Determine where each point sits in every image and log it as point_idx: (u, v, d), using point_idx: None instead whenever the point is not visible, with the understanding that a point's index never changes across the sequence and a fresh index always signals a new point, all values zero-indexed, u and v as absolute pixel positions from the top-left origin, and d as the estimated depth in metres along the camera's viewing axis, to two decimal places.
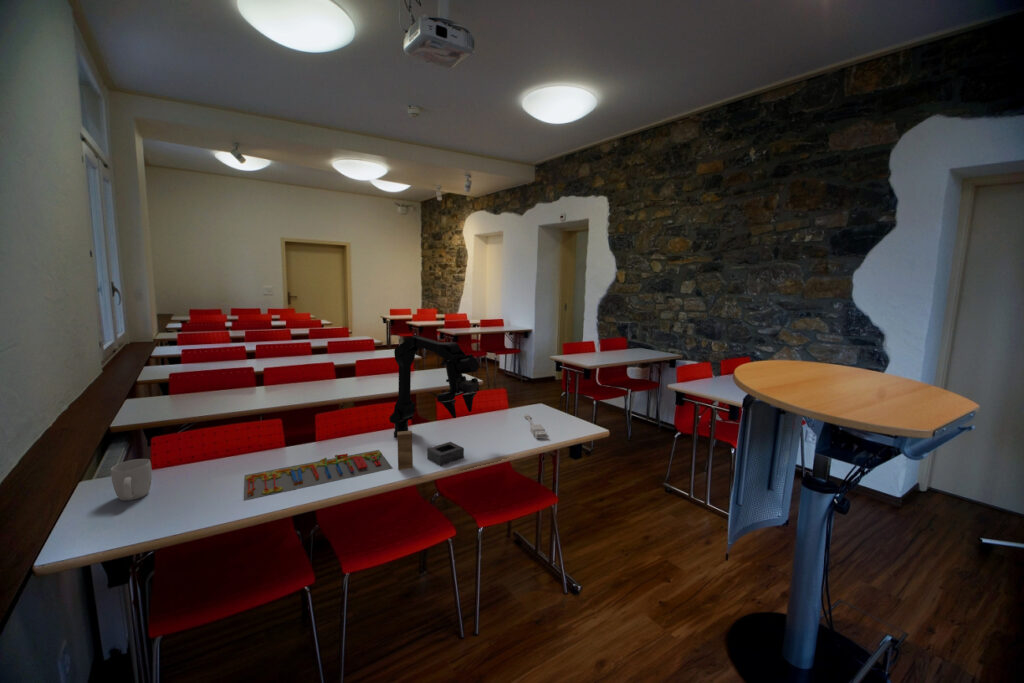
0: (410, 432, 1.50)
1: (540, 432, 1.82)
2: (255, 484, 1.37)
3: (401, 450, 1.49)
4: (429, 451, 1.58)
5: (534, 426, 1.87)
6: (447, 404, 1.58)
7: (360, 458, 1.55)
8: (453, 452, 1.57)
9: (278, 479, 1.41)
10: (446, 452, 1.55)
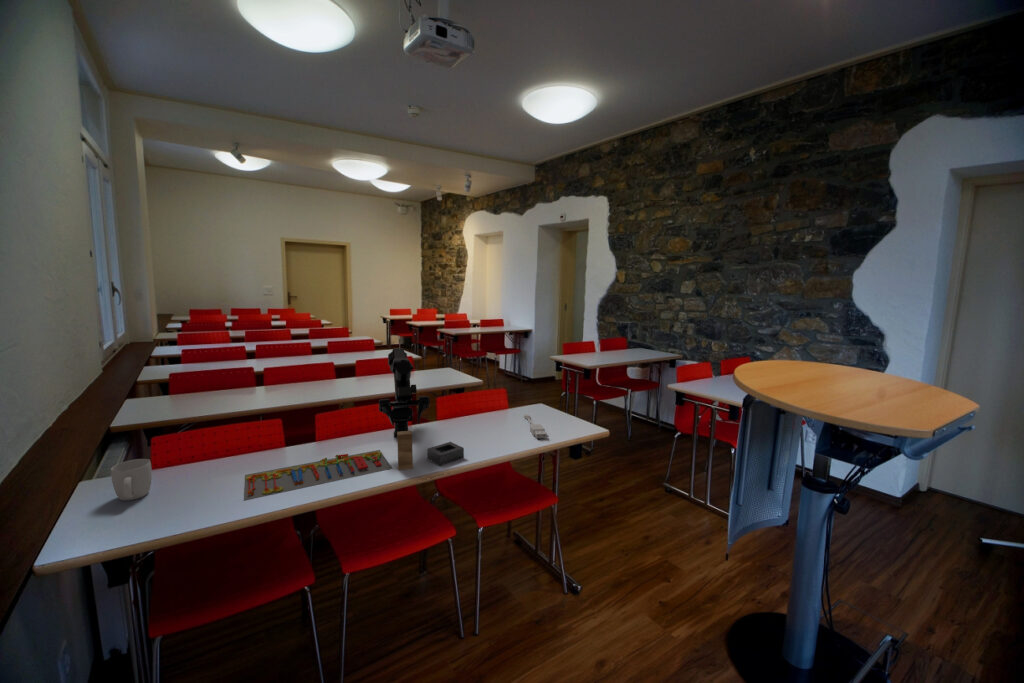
0: (410, 432, 1.50)
1: (540, 432, 1.82)
2: (255, 484, 1.37)
3: (401, 450, 1.49)
4: (429, 451, 1.58)
5: (534, 426, 1.88)
6: (388, 413, 1.59)
7: (360, 458, 1.55)
8: (453, 452, 1.57)
9: (278, 479, 1.41)
10: (446, 452, 1.55)
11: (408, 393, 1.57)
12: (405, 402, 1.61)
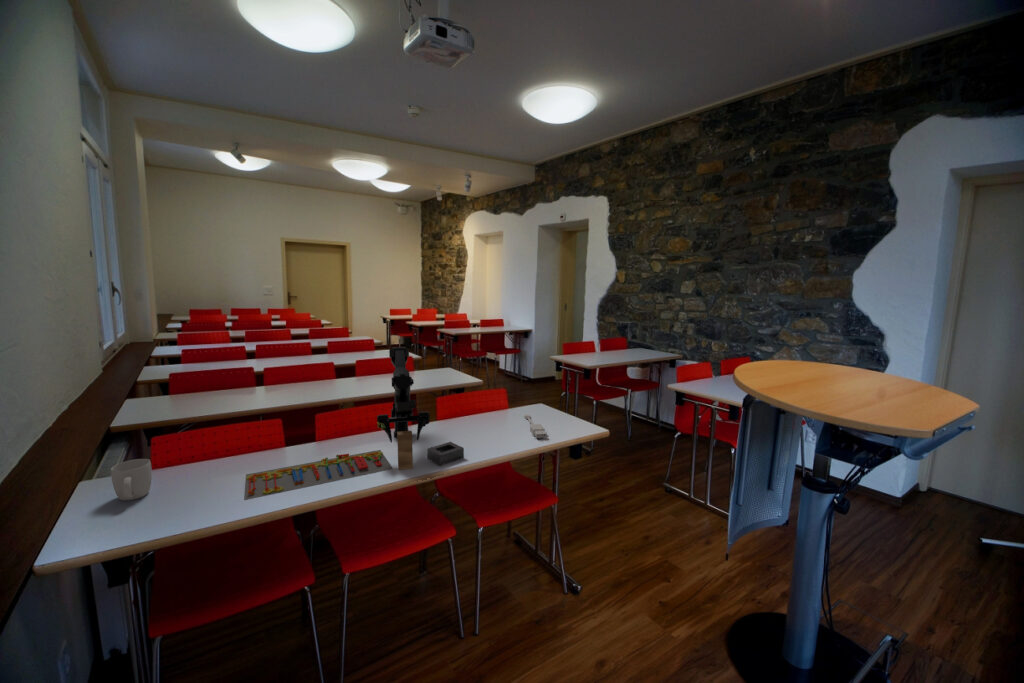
0: (410, 432, 1.50)
1: (540, 432, 1.82)
2: (256, 484, 1.37)
3: (402, 450, 1.49)
4: (429, 451, 1.58)
5: (534, 426, 1.88)
6: (386, 429, 1.54)
7: (361, 458, 1.55)
8: (453, 452, 1.57)
9: (279, 479, 1.41)
10: (446, 452, 1.55)
11: (407, 408, 1.51)
12: (404, 418, 1.56)
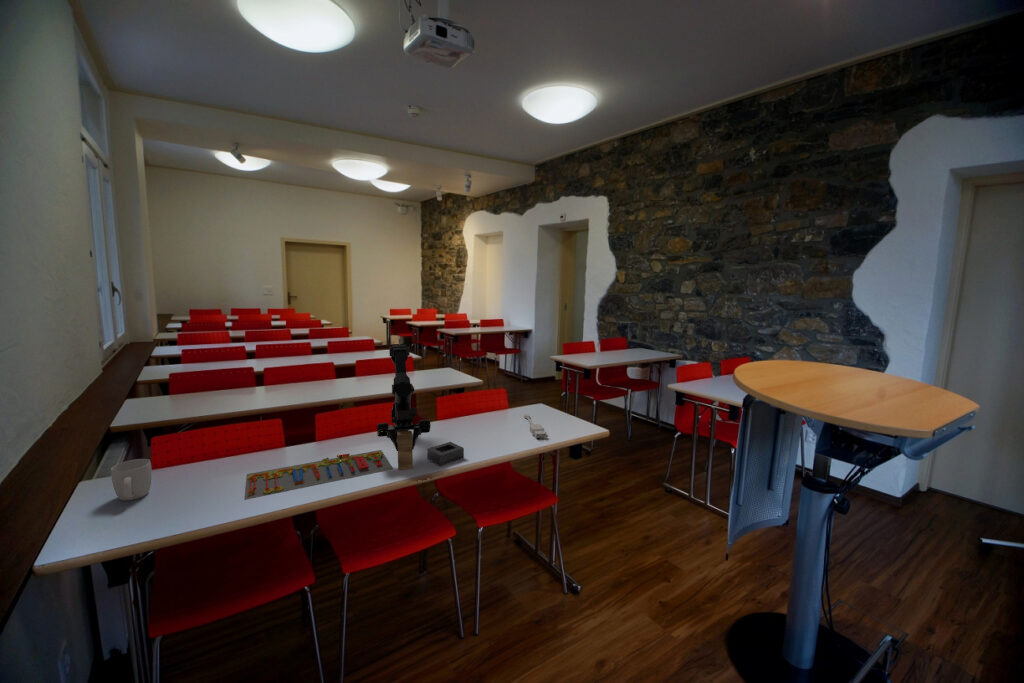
0: (410, 432, 1.50)
1: (539, 432, 1.82)
2: (257, 483, 1.38)
3: (401, 450, 1.49)
4: (429, 451, 1.58)
5: (533, 426, 1.88)
6: (392, 437, 1.52)
7: (361, 458, 1.55)
8: (453, 452, 1.57)
9: (279, 478, 1.41)
10: (446, 452, 1.55)
11: (407, 417, 1.49)
12: (405, 426, 1.53)
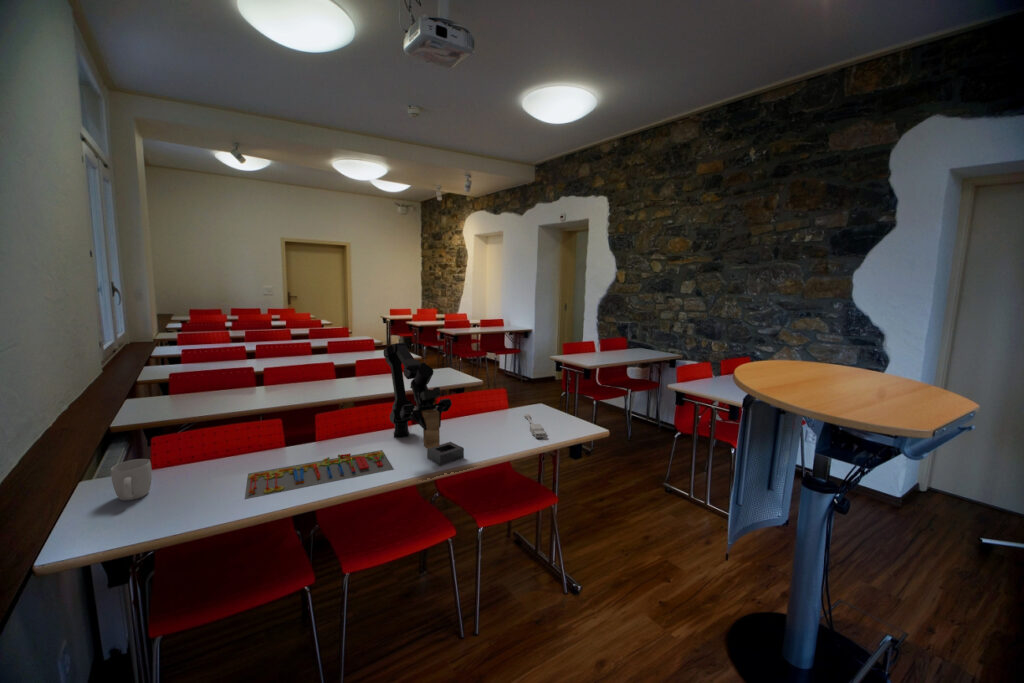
0: (436, 411, 1.54)
1: (539, 431, 1.82)
2: (257, 483, 1.38)
3: (430, 429, 1.52)
4: (429, 451, 1.58)
5: (533, 425, 1.88)
6: (417, 418, 1.54)
7: (362, 458, 1.55)
8: (453, 452, 1.57)
9: (280, 478, 1.41)
10: (446, 452, 1.55)
11: (434, 396, 1.53)
12: (428, 406, 1.56)
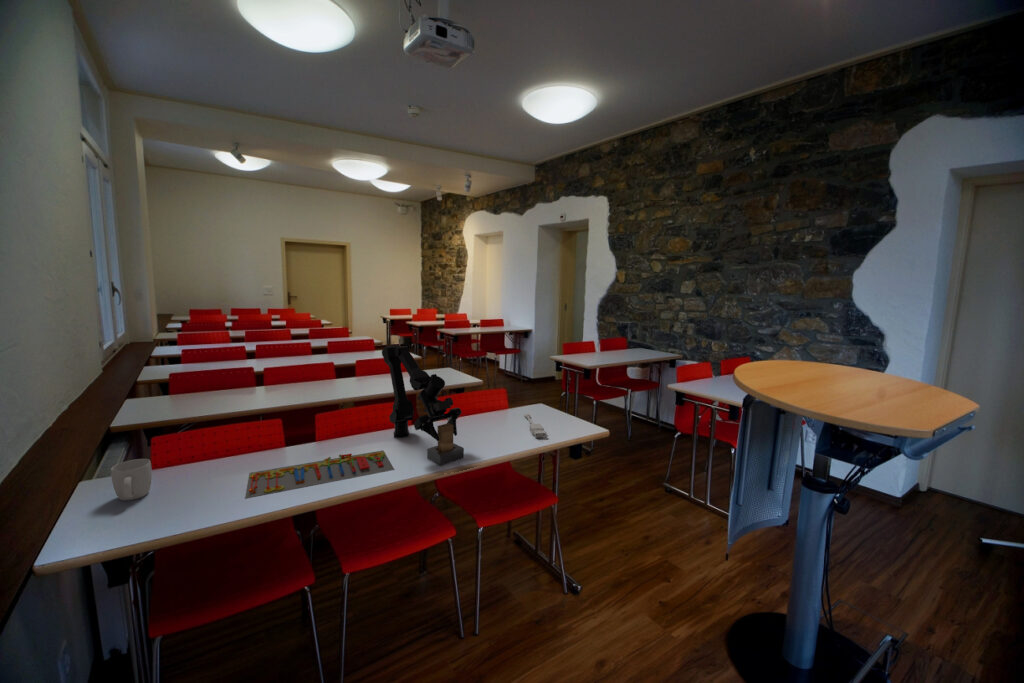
0: (450, 424, 1.59)
1: (539, 431, 1.83)
2: (258, 482, 1.38)
3: (445, 442, 1.57)
4: (429, 451, 1.58)
5: (533, 425, 1.89)
6: (428, 429, 1.57)
7: (363, 458, 1.55)
8: (453, 452, 1.57)
9: (281, 478, 1.42)
10: (446, 452, 1.55)
11: (448, 406, 1.57)
12: (440, 416, 1.60)
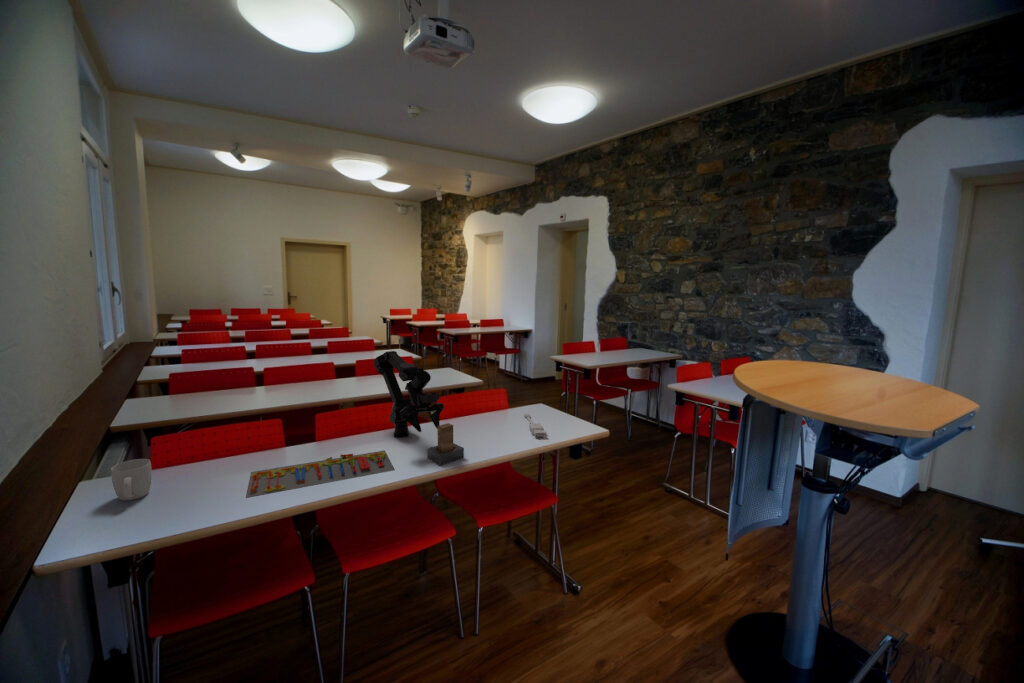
0: (450, 424, 1.59)
1: (539, 431, 1.83)
2: (259, 481, 1.39)
3: (445, 442, 1.57)
4: (429, 451, 1.58)
5: (533, 425, 1.89)
6: (411, 419, 1.62)
7: (364, 458, 1.55)
8: (453, 452, 1.57)
9: (282, 477, 1.42)
10: (446, 452, 1.55)
11: (435, 400, 1.64)
12: (424, 409, 1.67)
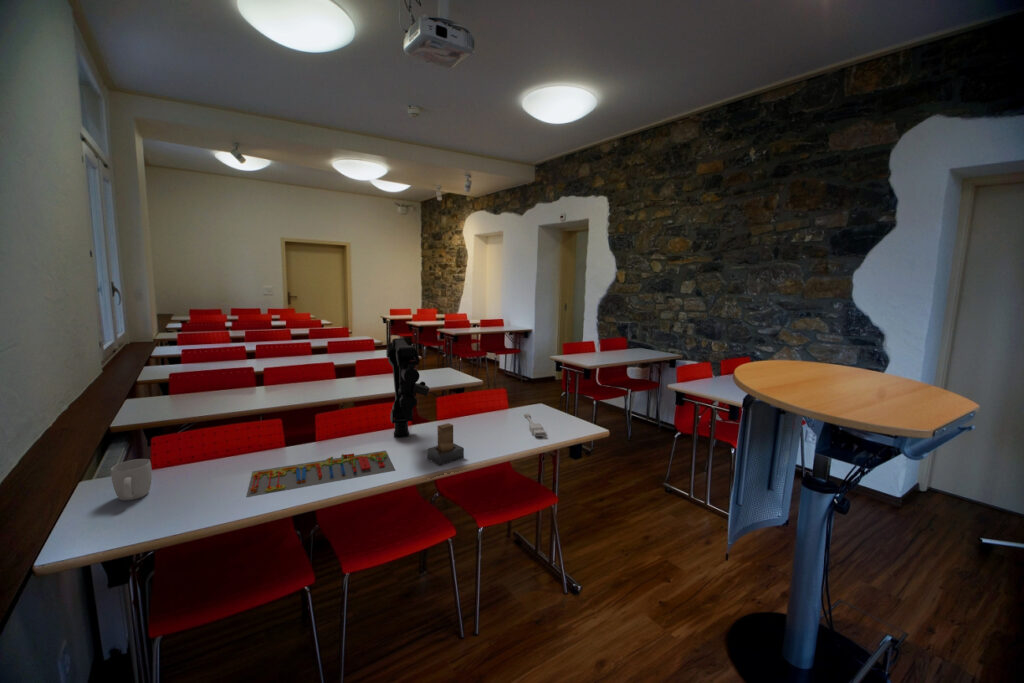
0: (450, 424, 1.59)
1: (539, 430, 1.84)
2: (260, 481, 1.39)
3: (445, 442, 1.57)
4: (429, 451, 1.58)
5: (533, 424, 1.89)
6: (405, 407, 1.61)
7: (365, 459, 1.55)
8: (453, 452, 1.57)
9: (283, 477, 1.42)
10: (446, 452, 1.55)
11: None
12: None
